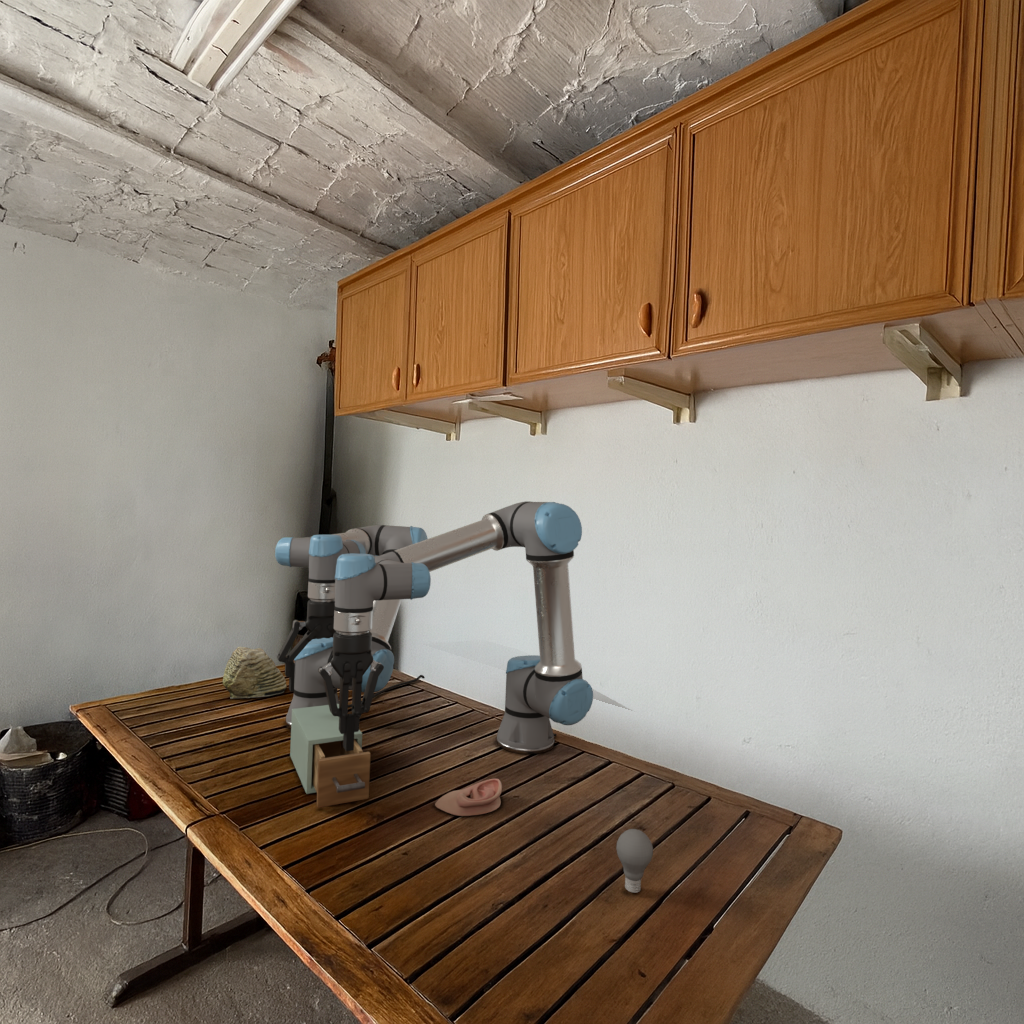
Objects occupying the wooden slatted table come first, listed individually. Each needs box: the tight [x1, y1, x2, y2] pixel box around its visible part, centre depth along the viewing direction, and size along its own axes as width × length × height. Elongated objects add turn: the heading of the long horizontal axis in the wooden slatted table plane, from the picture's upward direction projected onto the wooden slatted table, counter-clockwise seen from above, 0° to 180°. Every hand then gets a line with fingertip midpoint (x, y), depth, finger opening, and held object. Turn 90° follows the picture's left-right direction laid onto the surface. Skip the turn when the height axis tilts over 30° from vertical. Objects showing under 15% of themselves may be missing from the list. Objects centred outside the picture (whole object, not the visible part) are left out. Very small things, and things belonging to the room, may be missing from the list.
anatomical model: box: [434, 778, 503, 817], centre depth 133 cm, size 13×4×12 cm
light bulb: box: [615, 828, 654, 894], centre depth 106 cm, size 6×6×10 cm
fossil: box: [222, 646, 288, 699], centre depth 198 cm, size 9×18×15 cm, turn 132°
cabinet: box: [289, 704, 363, 795], centre depth 147 cm, size 22×12×12 cm, turn 28°
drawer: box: [312, 739, 371, 808], centre depth 136 cm, size 26×10×10 cm, turn 28°
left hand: (321, 687), depth 152 cm, fingers open, 13 cm apart
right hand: (348, 748), depth 127 cm, fingers closed
